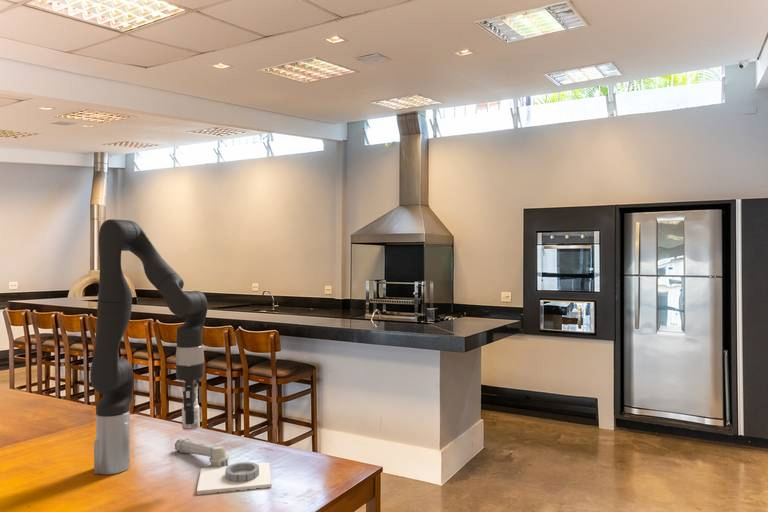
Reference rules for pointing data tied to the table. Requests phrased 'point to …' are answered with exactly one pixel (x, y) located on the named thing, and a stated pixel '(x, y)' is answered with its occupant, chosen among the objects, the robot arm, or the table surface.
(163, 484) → the table surface
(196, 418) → the pill bottle
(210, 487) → the collar plate
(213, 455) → the rod with end cap
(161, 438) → the table surface
